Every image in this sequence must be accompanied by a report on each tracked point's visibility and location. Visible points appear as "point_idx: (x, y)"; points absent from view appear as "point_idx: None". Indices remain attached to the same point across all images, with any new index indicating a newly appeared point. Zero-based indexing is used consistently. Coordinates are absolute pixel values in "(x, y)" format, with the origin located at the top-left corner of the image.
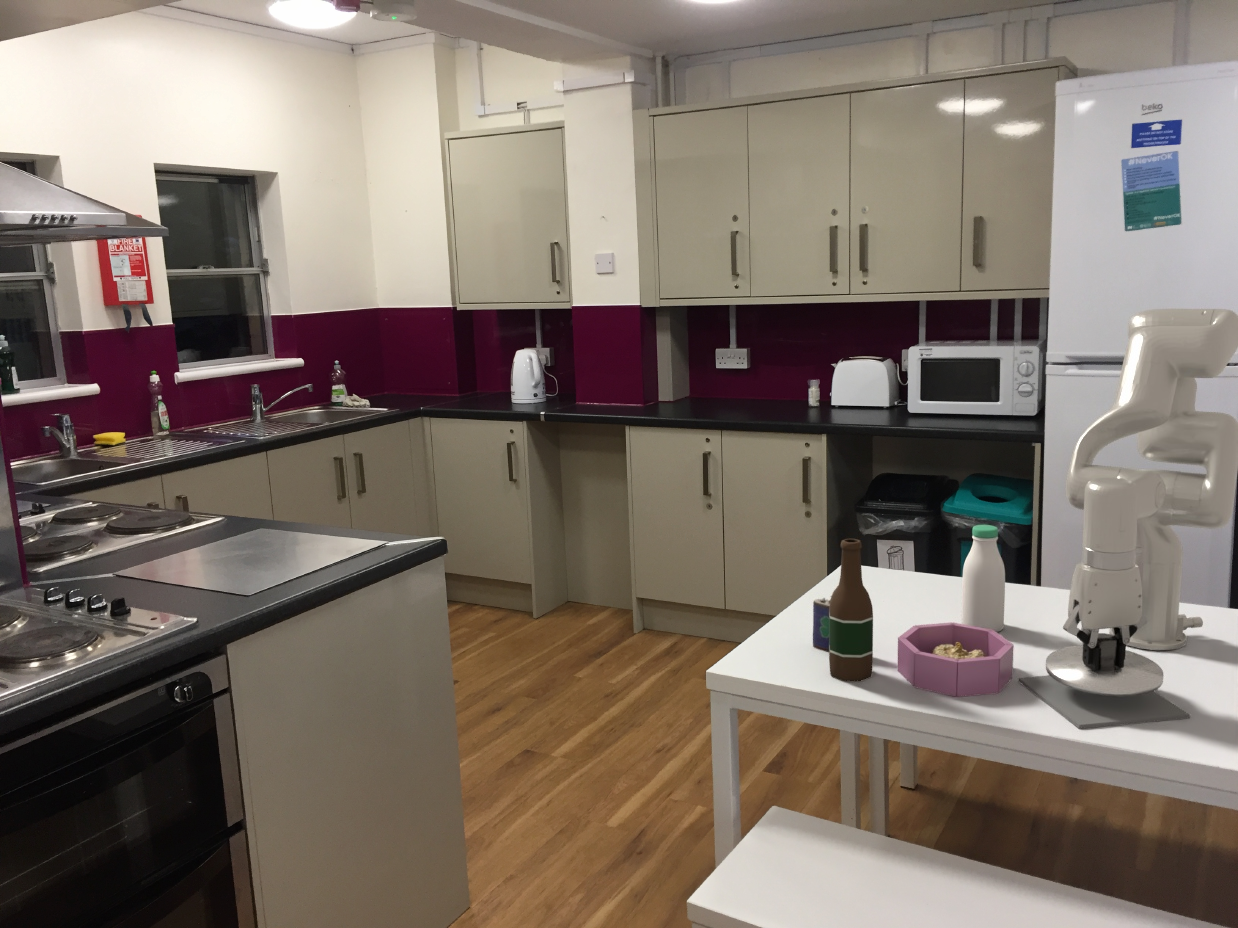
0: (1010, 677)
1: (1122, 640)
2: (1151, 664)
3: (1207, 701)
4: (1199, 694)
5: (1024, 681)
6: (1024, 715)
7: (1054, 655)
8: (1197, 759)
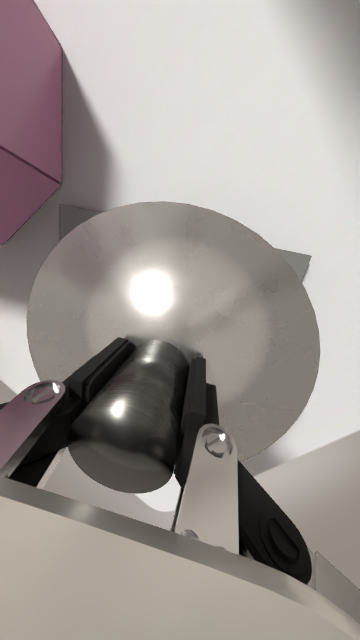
0: (45, 192)
1: (180, 489)
2: (279, 416)
3: (317, 421)
4: (336, 400)
5: (62, 228)
6: (11, 337)
7: (82, 245)
8: (145, 497)
